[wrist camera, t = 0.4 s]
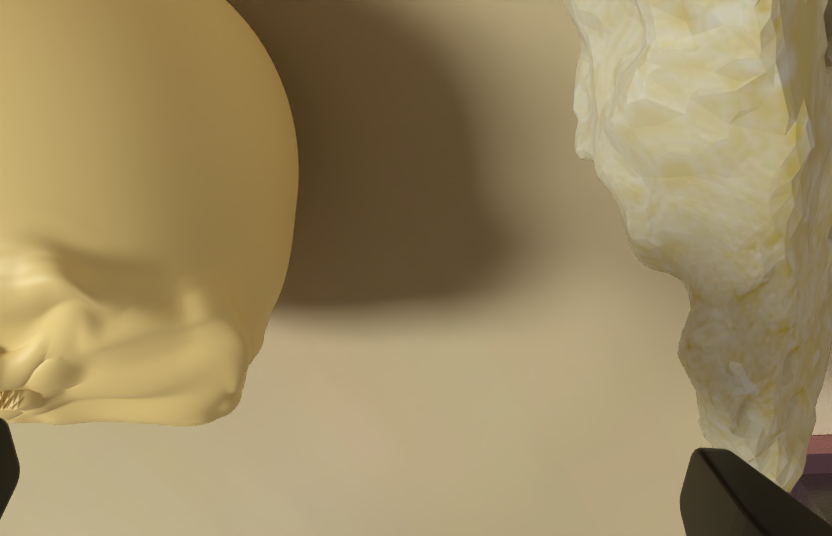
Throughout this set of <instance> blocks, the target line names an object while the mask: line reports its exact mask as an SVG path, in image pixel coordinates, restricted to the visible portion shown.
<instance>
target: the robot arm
mask: <svg viewBox="0 0 832 536" xmlns="http://www.w3.org/2000/svg"><path fill="white" fill-rule="evenodd" d="M19 474H20V465H19V461H18V457H17V454H16V450H15V447H14V443H13V440H12V436H11V432H10V429H9V426H8V423H7V422H6V421H5V420H4V419H3V418H0V519H1V517H2V515H3V513H4V511H5V509H6V506H7V504H8V502H9V500H10V498H11V496H12V494H13V492H14V490H15V488H16V485H17V483H18V479H19ZM680 511H681V516H682V520H683V524H684V528H685V532H686V536H832V525H831V524H830V523H828V522H827V521H826V520H824V519H823V518H821V517H820V516H819V515H817V514H816V513H815V512H813V511H812V510H811V509H809V508H808V507H806V506H805V505H804V504H802V503H801V502H800V501H798V500H797V499H796V498H794V497H793V496H792V495H790V494H789V493H787V492H786V491H785V490H783V489H782V488H781V487H779V486H778V485H777V484H775V483H774V482H773V481H771V480H770V479H768V478H767V477H766V476H764V475H763V474H762V473H760V472H759V471H758V470H756V469H755V468H754V467H752V466H751V465H749V464H748V463H747V462H745V461H744V460H743V459H741V458H740V457H739V456H737V455H736V454H735V453H733V452H731V451H730V450H728V449H723V448H698V449H696V450H694V452H693V453H692V455H691V458H690V462H689V465H688V469H687V472H686V476H685V480H684V483H683V487H682V491H681V495H680Z"/></svg>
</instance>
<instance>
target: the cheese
mask: <svg viewBox="0 0 832 536" xmlns="http://www.w3.org/2000/svg"><path fill="white" fill-rule="evenodd" d="M563 3H564V5H565V7H566V10H567V12H568V14H569V16H570V17H571V19H572V21H573V23H574V25H575V27H576V29H577V31H578V33H579V36H580V50H581V54H580V58H579V61H578V65H577V71H576V78H575V93H574V107H573V110H574V113H575V115H576V117H577V119H578V127H577V130H576V133H575V152H576V153H577V155H578V156H579V157H580V158H581V159H584V160H590V161H594V164H595V169H596V173H597V175H598V177H599V179H600V181H601V182H602V183H603V184H604V185H605V186H606V187H607V188H608V189H609V190H610V192H611V194H612V196H613V198H614V200H615V202H616V203H617V205H618V207H619V209H620V212H621V216H622V219H623V223H624V226H625V230H626V234H627V237H628V241H629V245H630V247H631V248H632V250H633V252H634V253H635V255H636V257H637V258H638V260H639V261H640V262H641V263H643V264H644V265H645V266H647V267H649V268H651V269H654V270H657V271H662V272H666V273H669V274H671V275H673V276H675V277H677V278H679V279H681V280H682V281H683V283H684V285H685V287H686V289H687V291H688V294H689V300H690V306H691V310H690V313H689V316H688V319H687V322H686V324H685V327H684V329H683V331H682V334H681V338H680V342H679V350H678V356H679V359H680V361H681V363H682V365H683V367H684V369H685V371H686V373H687V375H688V377H689V379H690V380H691V382H692V384H693V386H694V388H695V390H696V396H697V403H698V409H699V415H700V418H699V420H698V424H699V425H700V427H701V429H702V431H703V435H704V437H705V438H706V439H707V440H708V441H709V442H710V443H711V445H712V448H723V449H728V450H730V451H731V452H733V453H735V454H736V455H737V456H739V457H740V458H741V459H743V460H744V461H745V462H747V463H748V464H749V465H751V466H752V467H754V468H755V469H756V470H758V471H759V472H760V473H762V474H763V475H764V476H766V477H767V478H768V479H770V480H771V481H773V482H774V483H775V484H777V485H778V486H779V487H781V488H782V489H783V490H785V491H786V492H790V491H791V490H792V488H793V487H794V485H795V484H796V482H797V481H798V480H799V478H800V477H801V475H802V474H803V470H804V467H805V463H806V456H807V448H808V445H809V441H810V438H811V435H812V432H813V429H814V425H815V422H816V412H815V406H816V402H817V398H818V396H819V393H820V391H821V389H822V385H823V381H824V377H825V373H826V368H827V363H828V358H829V353H830V348H831V343H832V0H563Z"/></svg>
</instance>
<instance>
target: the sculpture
mask: <svg viewBox="0 0 832 536" xmlns="http://www.w3.org/2000/svg"><path fill="white" fill-rule="evenodd" d="M298 181H299V161H298V147H297V139H296V132H295V126H294V121H293V117H292V113H291V109H290V105H289V102H288V99H287V95H286V93H285V90H284V87H283V84H282V82H281V79H280V77H279V75H278V72H277V70H276V68H275V66H274V64H273V62H272V60H271V58H270V56H269V55H268V53H267V51H266V49H265V48H264V46H263V45H262V43H261V41H260V40H259V38H258V37H257V36H256V34H255V33H254V31H253V30H252V29H251V27H250V26H249V25H248V24H247V22H246V21H245V20H244V19H243V18H242V17H241V15H240V14H239V13H238V12H237V11H236V10H235V9H234V8H233V7H232V6H231V5H230V4H229V3H228V2H227V1H226V0H0V418H3V419H4V420H5V421H6V422H10V423H48V424H55V425H68V424H77V423H85V422H124V423H143V424H159V425H171V426H197V425H203V424H206V423H209V422H211V421H214V420H216V419H218V418H221V417H223V416H226V415H228V414H229V413H231V412H232V411H233V410H234V409H235V408H236V407H237V405H238V404H239V402H240V399H241V394H242V389H243V387H244V383H245V379H246V372H247V369H248V366H249V365H250V364H251V362H252V361H253V359H254V358H255V356H256V355H257V354H258V352H259V351H260V349H261V347H262V344H263V340H264V333H265V329H266V327H267V324H268V321H269V318H270V315H271V312H272V310H273V308H274V306H275V304H276V302H277V300H278V297H279V295H280V292H281V290H282V287H283V284H284V281H285V277H286V273H287V269H288V265H289V260H290V254H291V248H292V240H293V232H294V223H295V213H296V204H297V195H298Z"/></svg>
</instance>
